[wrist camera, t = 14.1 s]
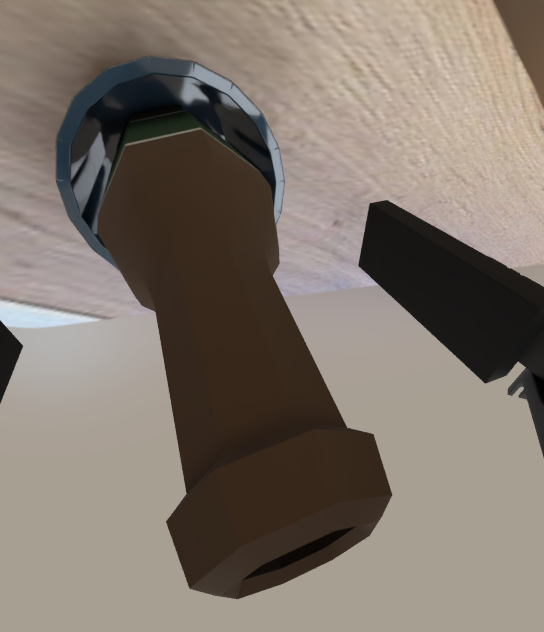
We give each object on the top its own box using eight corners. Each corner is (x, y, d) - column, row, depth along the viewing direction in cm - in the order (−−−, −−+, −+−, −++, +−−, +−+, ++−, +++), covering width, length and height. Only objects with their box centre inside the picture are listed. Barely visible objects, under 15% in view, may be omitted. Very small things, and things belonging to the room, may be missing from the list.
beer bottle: (245, 178, 24) (515, 476, 7) (171, 235, 25) (240, 626, 8) (178, 71, 19) (672, 181, 1) (87, 149, 19) (-321, 811, 2)
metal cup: (51, 181, 20) (17, 227, 15) (131, 1, 17) (126, -31, 11) (198, 259, 28) (213, 311, 22) (277, 147, 24) (321, 174, 18)
